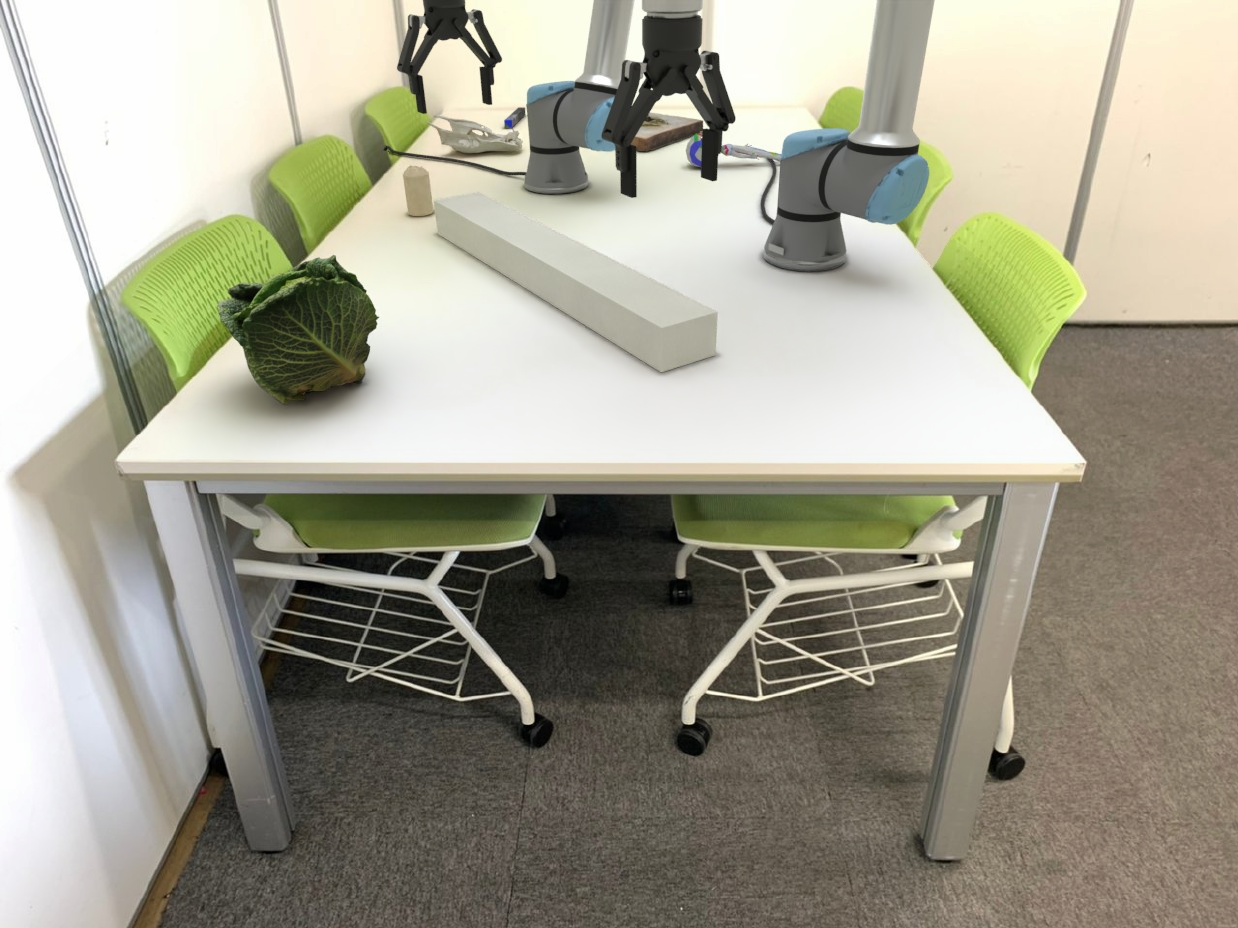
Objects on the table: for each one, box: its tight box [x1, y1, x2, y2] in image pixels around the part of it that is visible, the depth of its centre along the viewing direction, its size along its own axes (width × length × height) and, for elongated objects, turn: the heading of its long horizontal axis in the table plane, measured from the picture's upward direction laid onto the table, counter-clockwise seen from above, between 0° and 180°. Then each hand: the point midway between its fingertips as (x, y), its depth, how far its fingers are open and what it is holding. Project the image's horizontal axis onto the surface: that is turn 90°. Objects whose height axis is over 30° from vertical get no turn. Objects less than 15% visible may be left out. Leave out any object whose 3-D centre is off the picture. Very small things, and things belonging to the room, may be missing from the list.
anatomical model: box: [427, 114, 524, 154], centre depth 243 cm, size 15×9×25 cm
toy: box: [685, 133, 782, 168], centre depth 228 cm, size 10×8×30 cm
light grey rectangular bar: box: [433, 191, 718, 373], centre depth 158 cm, size 79×10×7 cm, turn 34°
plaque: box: [631, 111, 704, 152], centre depth 257 cm, size 30×7×30 cm
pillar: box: [503, 106, 527, 129], centre depth 277 cm, size 2×2×20 cm
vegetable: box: [216, 254, 380, 405], centre depth 123 cm, size 20×19×20 cm
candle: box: [402, 165, 434, 217], centre depth 195 cm, size 6×6×10 cm
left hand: (455, 108), depth 171 cm, fingers open, 13 cm apart
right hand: (669, 187), depth 122 cm, fingers open, 13 cm apart
